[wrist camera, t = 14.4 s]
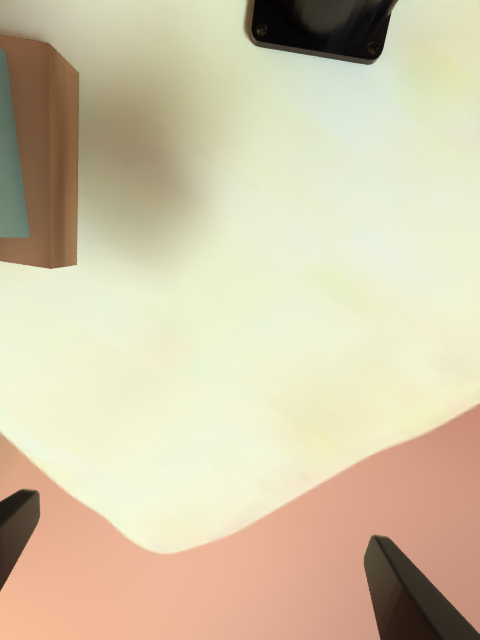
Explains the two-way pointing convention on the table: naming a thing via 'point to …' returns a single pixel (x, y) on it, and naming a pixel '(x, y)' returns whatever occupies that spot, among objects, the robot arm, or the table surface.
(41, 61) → the tower base
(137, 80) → the table surface
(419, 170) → the table surface
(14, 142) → the tower top
